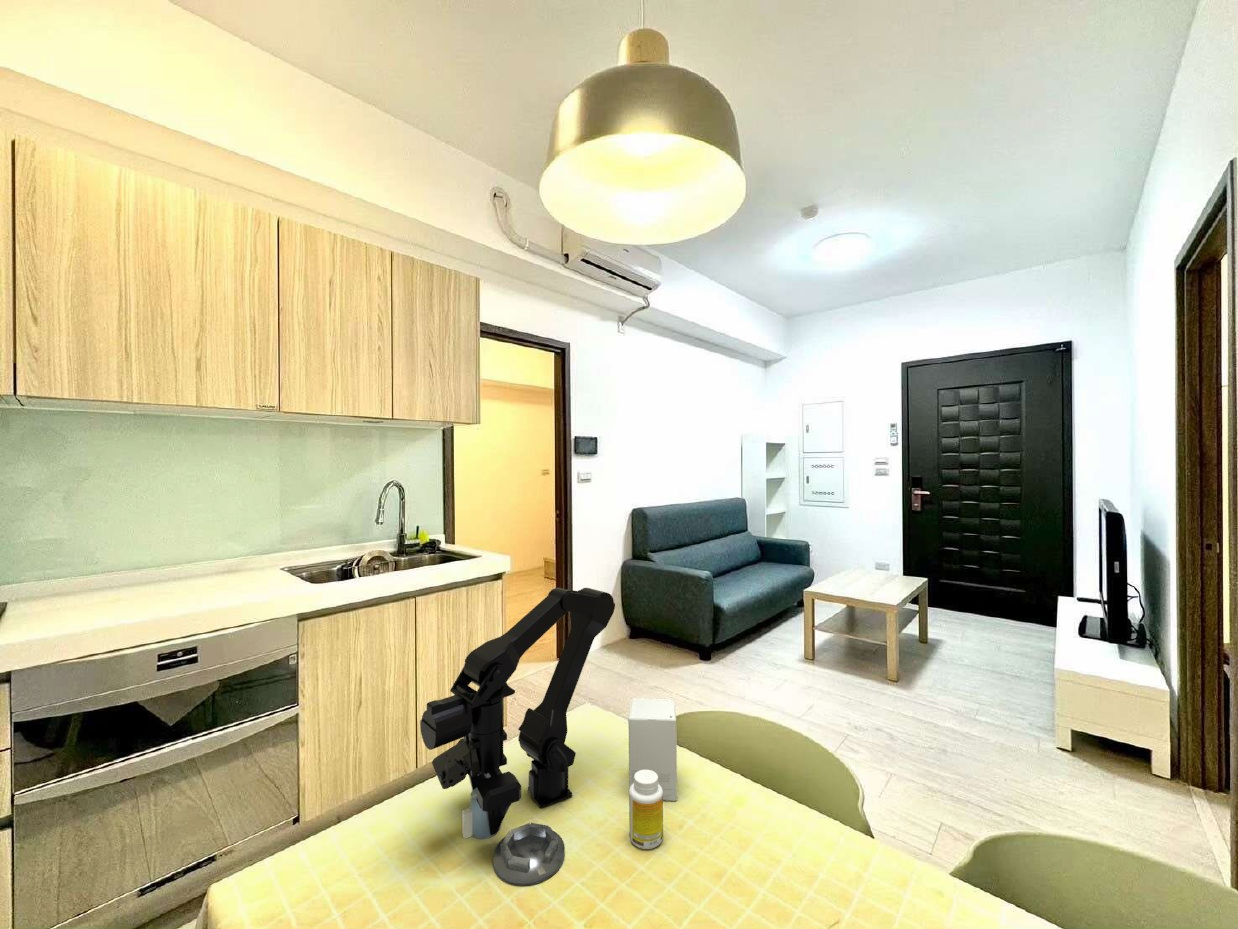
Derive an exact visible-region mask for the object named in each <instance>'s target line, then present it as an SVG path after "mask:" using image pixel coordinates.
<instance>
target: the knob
mask: <svg viewBox="0 0 1238 929" xmlns="http://www.w3.org/2000/svg"><path fill="white" fill-rule="evenodd" d="M476 799H477V787H476V788H475V789H474V790H473V791H471V792H470V806H469V807H468V808H465V809H462V818H461V819H462V821H461V822H462V824H461V825H462V834H461V835H462V836H463V839H464V840H465V839H467V838H470V837H473V838H475V839H477V840H486V839H489V838H492V837H493V836H494V837H495V835H497V834H499V832H500V830H501V827H502V824H501V825H500V828H499V830H498V832H497V833H496V834H494V835H490V832H489V827H488V821H487V815H486V811H482V809H481V808H480V806H479V804H478V802H477V800H476Z"/></svg>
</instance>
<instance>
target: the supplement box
mask: <svg viewBox="0 0 1238 929" xmlns="http://www.w3.org/2000/svg"><path fill="white" fill-rule="evenodd" d="M675 704H676V702H675V699H669V698H667V699H665V698H664V699H663V698H659V699H658V698H635V697H633V698H631V700H630V707H629V708H630V709H629V714H628V717H627V718H628V719H627V721H628V722H627V723H628V776H629V777H628V778H629V779H628V786H629V788H628V789H629V790H630V787H631V785H632V784H633V783H634V775H635V773H636V772H638V771H640V770H651V771H654V772H655V773H656V774H657V775H658V784H659V785H660V786H661V788H662V790H663V801H665V802H666V801H668V802H672V801H673V802H676V801H678V784H677V783H678V770H677V769H678V767H677V765H678V764H677V763H678V762H677V761H678V760H677V759H678V754H677V753H678V751H677V748H678V747H677V746H678V745H677V744H678V743H677V738H678V737H677V736H678V735H677V712H676V705H675Z"/></svg>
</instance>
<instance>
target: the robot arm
mask: <svg viewBox="0 0 1238 929" xmlns="http://www.w3.org/2000/svg"><path fill="white" fill-rule="evenodd" d="M615 608H616V602H615V601H614V597H613V596H612V594H610V593H609V592H605V591H603V590H598V589H593V588H590V587H583V588H581V589H579V590H573V589H572V590H571V589H566V588H565V589H564V588H562V587H555V588H552V589H550V591H549V592H548V594H547V596H546V597H545V598H543V599H542V600H541V601H540V602H539V603H538V604H536V605H535V607H533V608H532V609H531V610H530V611H529V612H527V613H526V615H525V616H523V617H522V618H521V619H520V620H519V621H518V622H517V623H515V624H514V625H513V626H512V627H511V628H510V629H508V630H507V631H506V632H505V633H504V634H502V635H500V636H498V637H495V638H492V639H490V640H488V641H486V642H484V643H483V644H481V645H479V646H478V647H476V648H475V649H473V650H471V651H470V652H469V654H467V656H466V657H465V659H464V664H463V665H464V666H463V668H462V669H461V671H460V673H459V674H458V676H457V678H456V680H455V681H454V683H453V684H452V686H451V688H450V691H449V692H450V693H451V694H454V695H450V696H447V697H445V698H442V699H435V700H432V701H428V702H427V703H426V710H424V712H423V713H422V716H421V719H420V735H421V738H422V741H423V744H424V745H425V747H426V749H427V750H429V751H430V750H434V749H437V748H439V747H443V746H445V745H447V744H450V743H452V742H454V741H457V740H458V742H457V743H455V745H453V746H451V747H449V748H448V749H446V750H445V751H444V752H442V753H441V754H439V755H437V756H435V757H434V758H433V760H432V761H431V765H432V767H433V769H434V772H435V775H436V777H437V779H438V782H439V783H440V786H441V789H442V790H447V789H450V788H451V787H452V788H453V787H455V786H457V785H458V784H459V783H461V782H462V781H463V780H464V781H465V778H466V777H467V775H468V777H469V783H470V785H471V786H470V787H471V790H472V791H473V790H474V789H475V788H476V787H477V799H476V800H477V802H478V804H479V806H480V808H481V809H482V811H486V815H487V821H488V827H489V832H490V835H494V834H496V833H497V832H498V830H499V828H500V825H501V826H502V824H503V821H504V819H505V817H506V814H507V813H508V810H509V809H510V807H511V806H512V804H513V803H514V804H515V803H516V802H520V800H521V799H522V785H521V783H520V781H519V779H518V778H517V777H516V776H515V775H514V773H513V772H511V771H510V770H509V771H506V772H502V771H501V769H500V768H501V767H503V766H505V765H508V758H507V756H506V755H505V753H504V741H505V742H506V741H508V734H507V732H506V731H505V729H504V698H508V697H510V696H512V695H515V693H516V690H515V689H514V688H512V687H511V686H509V684H508V683H507V681H508V680H509V679H510V678H511V677H512V676H513V674H514V673H515V671H517V668H518V666H519V662H520V660H521V658H522V656H524V655H525V653H526V652H528V650H529V649H530V648H532V646H533V645H534V644H535V643H536V642H538V640H540V639H541V638H542V637H543V636H544V635H545V634H546V633H547V632H548V631H549V630H551V628H553V626H554V625H555V624H557V622H559V621H560V620H561V619H562V618H563V617H564V616H565V615H566V614H567V613H568V612H570V614H569V615H570V626H571V627H570V631H569V634H568V635H567V639H566V641H565V644H564V646H563V648H562V652H561V654H560V657H559V659H558V662H557V664H556V666H555V668H554V671H553V674H552V676H551V679H550V681H549V684H548V686H547V689H546V692H545V694H544V697H543V699H542V701H541V703H540V704H539V705H537V707H535V708H534V709H532V708H529V707H528V708H527V710H526V712H525V714H524V718H523V721H522V723H521V725H520V726H519V727H518V731H520V732H519V734H518V742H519V745H520V748H521V750H522V751H524V752H525V754H526V756H527V757H529V758H530V759H532V760H531V761H530V763H531V764H530V765H531V767H530V768H531V769H530V770H529V771H528V787H527V791H528V793H529V795H530V797H531V798H532V800H534V801H535V803H536V804H537V806H538V807H539V808H540V809H541V808H545V807H548V806H550V805H553V804H556V803H559V802H562V801H564V800H567V799H570V798H572V797H573V792H572V791H571V789H570V788H569V768H570V767H571V766H573V765H574V762H575V758H576V754H577V752H576V751H575V750H573V749H572V748H571V747H569V746H568V745H567V744H566V738H567V735H568V722H567V712H568V709H569V706H570V704H571V701H572V697H573V696H574V692H575V690H576V688H577V685H578V683H579V680H580V676H581V674H582V672H583V669H584V666H585V663H586V660H587V659H588V656H589V653H590V650H591V648H592V645H593V641H594V640H595V638H596V637H598V635H599V634H600V633H602V631H603V630H605V629H606V628H607V626H608V624H609V623H610V620H611V619H612V617H613V614H614V612H615V610H616V609H615ZM471 683H472V684H474V685H476V686H477V687H478V689H477V690H476V689H474V688H473V687H471V686H469V685H470V684H471ZM472 791H471V792H472ZM500 829H501V828H500ZM499 831H500V830H499ZM498 833H499V832H498ZM498 833H497V834H498ZM497 834H496V835H497ZM494 836H495V835H494Z"/></svg>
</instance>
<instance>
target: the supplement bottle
mask: <svg viewBox="0 0 1238 929" xmlns="http://www.w3.org/2000/svg"><path fill="white" fill-rule="evenodd" d="M628 792H629V793H628V795H629V797H628V800H629V801H628V802H629V803H628V804H629V806H628V809H629V811H628V814H629V816H628V817H629V818H628V820H629V822H628V824H629V826H628V827H629V828H628V829H629V830H628V832H629V834H628V835H629V839H630V841H631V843H632V844H633V845H634V846H636V847H637V848H639V849H642V850H652V849H655V848H656V847H658V846H659V845H660V844H661V843H662V842H663V839H664V838H663V837H664V800H663V790H662V788H661V786H660V785H659V784H658V775H657V774H656V773H655V772H654V771H651V770H640V771H638V772H636V773H635V775H634V783H633V784H632V785H631V787H630V790H629V791H628Z"/></svg>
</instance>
